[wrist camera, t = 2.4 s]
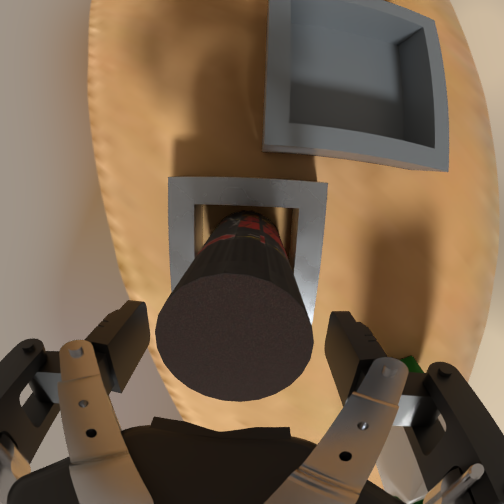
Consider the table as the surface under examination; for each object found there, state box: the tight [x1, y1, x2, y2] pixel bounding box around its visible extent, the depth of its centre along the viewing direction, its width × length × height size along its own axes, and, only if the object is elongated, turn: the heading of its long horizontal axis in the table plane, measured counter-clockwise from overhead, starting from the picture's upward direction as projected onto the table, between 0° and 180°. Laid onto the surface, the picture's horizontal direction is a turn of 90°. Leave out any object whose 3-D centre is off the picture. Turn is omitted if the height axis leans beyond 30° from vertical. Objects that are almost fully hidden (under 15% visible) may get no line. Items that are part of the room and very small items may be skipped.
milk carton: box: [376, 356, 446, 504], centre depth 19 cm, size 9×9×20 cm
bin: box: [262, 0, 449, 172], centre depth 17 cm, size 14×14×6 cm
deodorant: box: [155, 211, 314, 402], centre depth 17 cm, size 6×6×15 cm
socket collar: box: [168, 176, 328, 325], centre depth 22 cm, size 12×12×4 cm
